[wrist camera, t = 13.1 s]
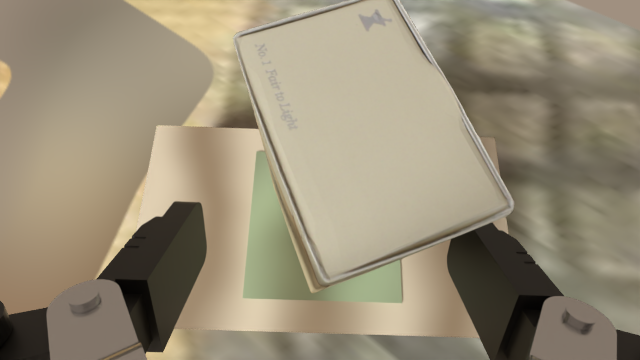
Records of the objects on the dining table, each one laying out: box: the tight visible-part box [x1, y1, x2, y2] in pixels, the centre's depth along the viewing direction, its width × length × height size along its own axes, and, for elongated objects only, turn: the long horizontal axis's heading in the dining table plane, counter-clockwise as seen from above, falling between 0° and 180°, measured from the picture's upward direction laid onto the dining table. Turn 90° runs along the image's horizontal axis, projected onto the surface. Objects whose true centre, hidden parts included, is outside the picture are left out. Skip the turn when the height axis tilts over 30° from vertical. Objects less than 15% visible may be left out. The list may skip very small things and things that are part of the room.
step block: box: [136, 125, 509, 338], centre depth 22 cm, size 20×11×5 cm, turn 88°
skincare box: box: [233, 0, 514, 293], centre depth 13 cm, size 6×4×12 cm
